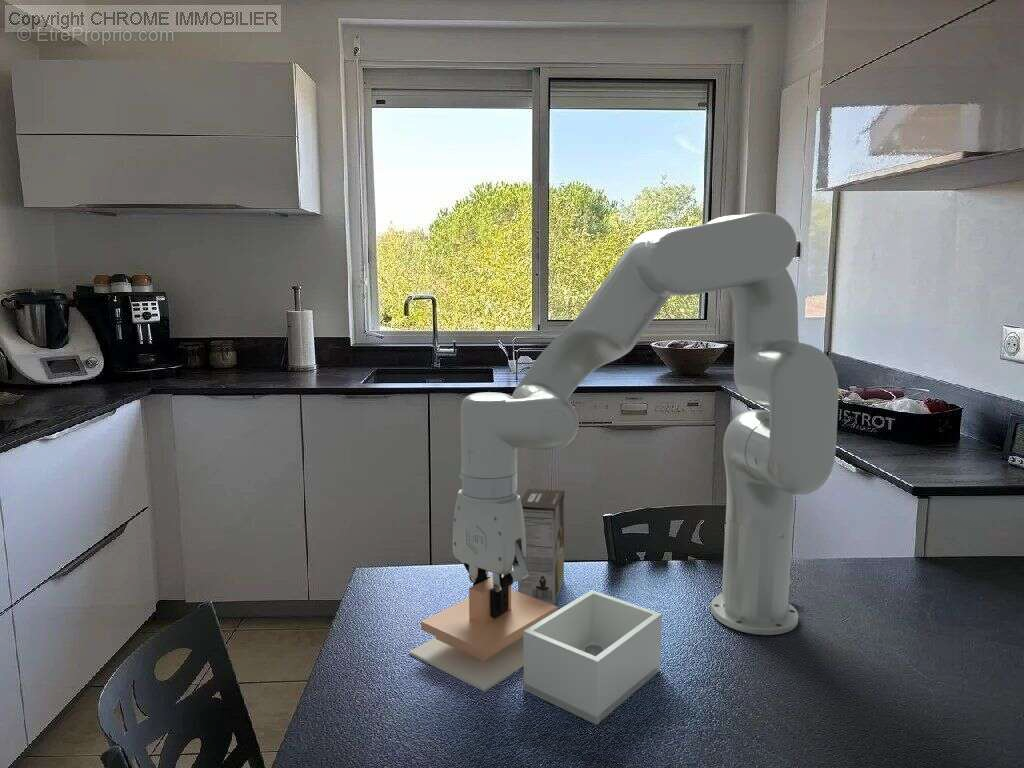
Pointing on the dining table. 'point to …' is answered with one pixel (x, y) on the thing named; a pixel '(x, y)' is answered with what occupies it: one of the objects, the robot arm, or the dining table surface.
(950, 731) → the dining table surface
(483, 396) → the robot arm
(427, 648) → the mat
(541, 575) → the coffee box
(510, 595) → the lid
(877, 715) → the dining table surface
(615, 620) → the tub
